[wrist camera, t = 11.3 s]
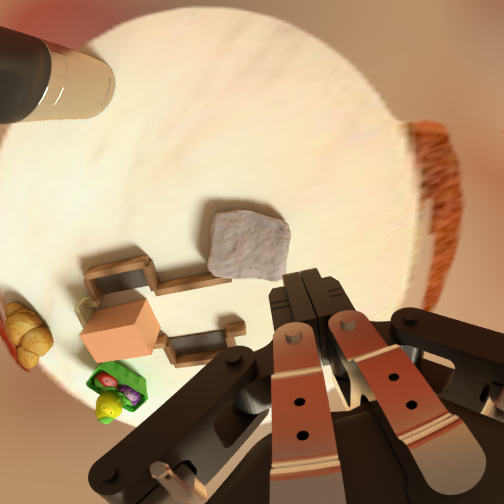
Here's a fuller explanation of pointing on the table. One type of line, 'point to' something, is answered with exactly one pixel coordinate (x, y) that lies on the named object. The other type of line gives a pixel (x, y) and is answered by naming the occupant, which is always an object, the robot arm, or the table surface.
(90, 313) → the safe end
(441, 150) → the table surface
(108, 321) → the terracotta brick
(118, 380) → the fruit basket
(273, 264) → the stone block
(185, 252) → the table surface
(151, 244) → the table surface
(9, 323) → the bread roll
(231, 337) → the box
